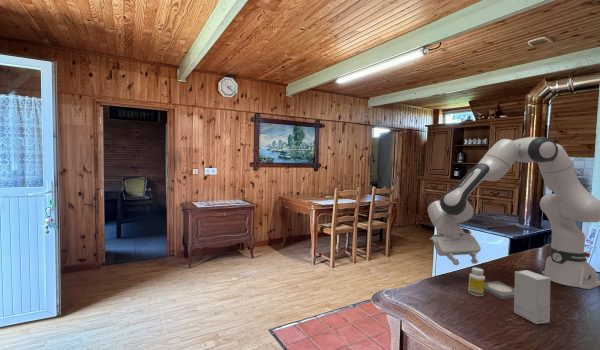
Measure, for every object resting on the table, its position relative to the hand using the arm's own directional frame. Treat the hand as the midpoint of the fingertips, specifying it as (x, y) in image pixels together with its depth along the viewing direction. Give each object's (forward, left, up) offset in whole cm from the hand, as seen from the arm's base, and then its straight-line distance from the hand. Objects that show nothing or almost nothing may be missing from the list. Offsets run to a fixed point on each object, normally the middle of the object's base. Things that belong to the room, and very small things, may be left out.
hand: (466, 263), depth 124 cm
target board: (-12, +5, -10) cm, 17 cm away
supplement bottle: (0, +5, -10) cm, 12 cm away
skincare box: (-3, +24, -10) cm, 27 cm away
